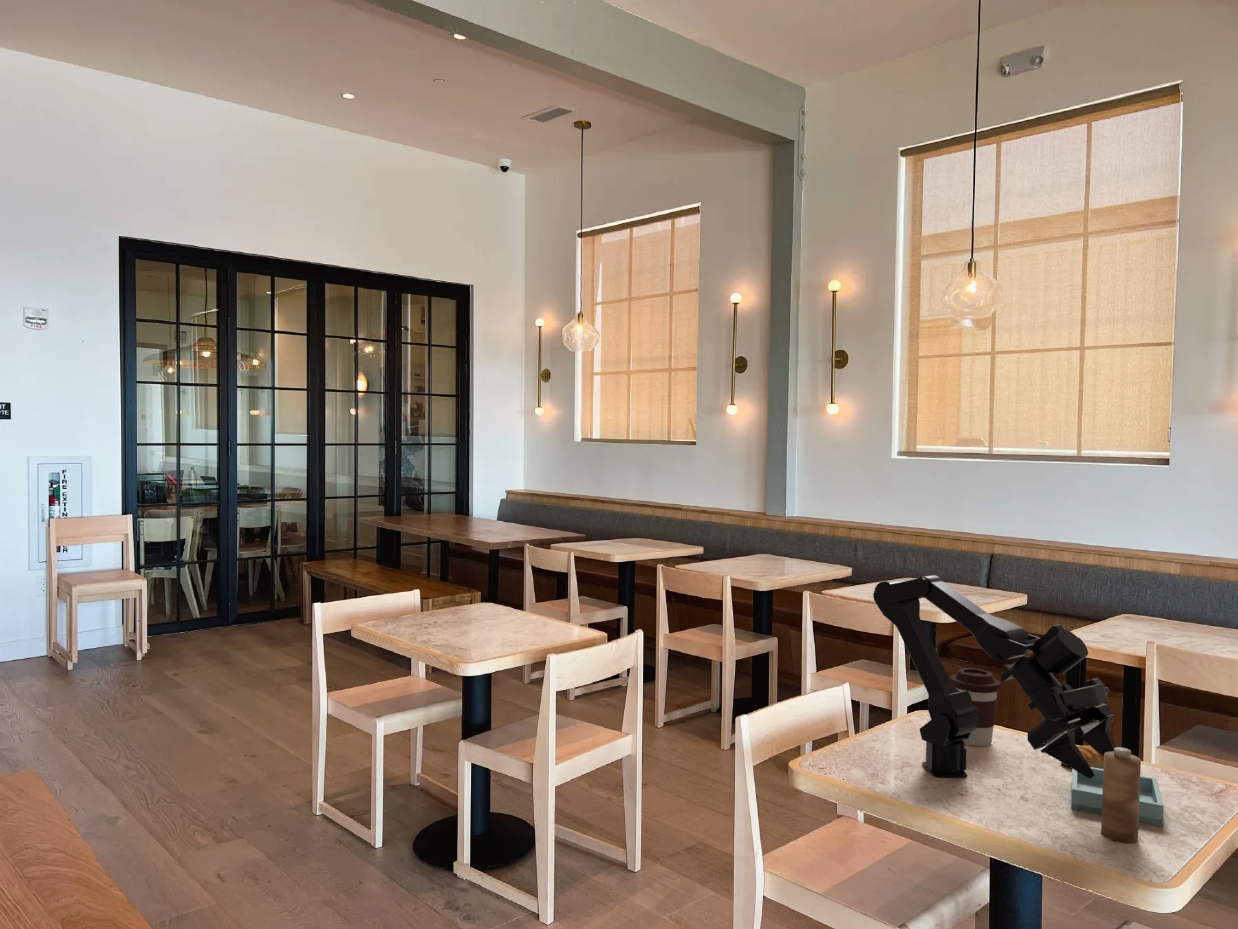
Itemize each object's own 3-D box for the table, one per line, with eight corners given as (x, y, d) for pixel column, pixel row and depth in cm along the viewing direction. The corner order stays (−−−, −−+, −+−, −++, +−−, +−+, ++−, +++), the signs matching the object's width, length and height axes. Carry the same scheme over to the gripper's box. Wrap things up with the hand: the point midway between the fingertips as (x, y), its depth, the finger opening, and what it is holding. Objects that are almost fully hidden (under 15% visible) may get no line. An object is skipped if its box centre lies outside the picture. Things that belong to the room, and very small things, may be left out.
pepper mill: (1113, 843, 139) (1116, 755, 138) (1094, 828, 144) (1097, 744, 143) (1145, 843, 139) (1148, 756, 138) (1125, 829, 144) (1128, 744, 143)
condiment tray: (1071, 808, 152) (1072, 789, 151) (1071, 782, 164) (1072, 764, 163) (1162, 826, 145) (1163, 805, 145) (1156, 797, 157) (1156, 778, 157)
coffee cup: (993, 753, 178) (996, 681, 178) (943, 743, 184) (945, 673, 183) (1002, 739, 187) (1004, 670, 186) (954, 730, 192) (956, 663, 192)
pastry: (1079, 774, 168) (1079, 755, 168) (1050, 762, 174) (1051, 743, 174) (1114, 769, 171) (1115, 749, 171) (1085, 757, 178) (1086, 739, 178)
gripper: (1046, 671, 142) (1115, 759, 133) (1103, 656, 152) (1170, 737, 143) (1000, 707, 148) (1063, 792, 139) (1058, 690, 159) (1119, 769, 150)
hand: (1106, 771), depth 143 cm, fingers open, 9 cm apart
